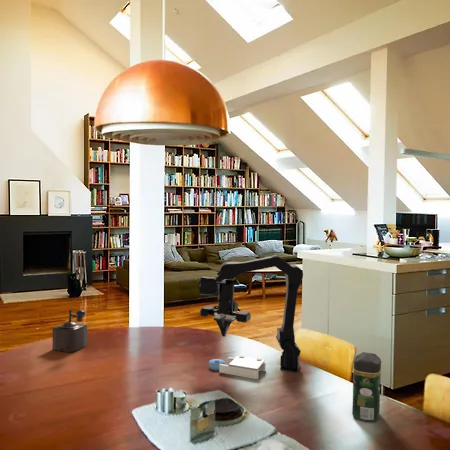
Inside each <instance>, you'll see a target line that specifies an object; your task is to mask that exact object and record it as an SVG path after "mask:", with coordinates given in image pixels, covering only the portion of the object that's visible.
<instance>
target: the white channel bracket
mask: <svg viewBox="0 0 450 450" xmlns="http://www.w3.org/2000/svg"><path fill="white" fill-rule="evenodd" d="M235 358H236V357H230V356H229V357H228V358H227V364H225V365H224V364H220V366H219V370H218V371H219V374H226V375H231V376H232V375H233V376H238V377H245V378H248V379H249V378H250V379H253V380H254V379H255V380H259V372H260V371H261V372H265V371H266V367H267V366H266V362H264V363H263V364H262V365H261V366H260V368H259V369H252V368H246V367H240V366H234V365H229V363H231V362H232V361H233V360H234V359H235Z"/></svg>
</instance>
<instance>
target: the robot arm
mask: <svg viewBox="0 0 450 450" xmlns="http://www.w3.org/2000/svg"><path fill="white" fill-rule="evenodd" d="M274 267H275V268H277V269H278V270H280V271H281V272H283V273H284V278H285V279H284V280H285V286H286V293H285V300H284V310H283V317H282V323H281V324H282V325H281V327H276V336H275V339H276V341H277V344H278V345H279V347H280V348H281V350H282V352H281V355H280V364H279V365H280V367H279V368H280V370H282V371H288V372H293V373H294V372H295V373H297V372H298V371H299V370H300V369H301V368H302V366H301V365H300V364H301V363H300V362H301V361H300V357H301V352H302V351H301V349H300V348H299V346H298V344H297V343H296V339H295V329H294V322H295V316H296V306H297V298H298V290H299V288H300V287H301V284H302V282H303V281H302V280H303V278H304V272H303V269H301V268H300V267H299V266H298V265H296V264H290V263H288V262H286V261H285V260H283V259H282V258H281V257H280V256H279V255H277V254H272V255H271V256H266V257H262V258H256V259H251V260H246V261H224V262H223V263H221V265H220V267H219V270H218V271H217V272H216V274H215V276H214V277H210V276H209V277H208V276H200V282H199V293H198V294H199V295H201V296H203V295H204V296H215V294H217V293H218V298H217V299H216V301H217V309H216V308H215V307H214V306H208V305H206V306H203V307H202V308H201V309H200V311H199V316H200V317H206V318H207V317H209V316H210V315H213V316H214V318H213V321H215V322H216V324H217V327H218V328H219V330H220V334H221V336H222V337H224V338H225V337H226V336H227V333H228V331H229V329H230V326H231V325H232V323H233V322H235V321H237V322H238V323H247V322H249V321H251V317H252V315H251V312H249V311H243V310H239V312H238V309H239V303H238V302H236V301H235V300H236V298H235V295H234V294H235V286H239V285H240V282H239V280H237V278H236V277H238V276H240V275H242V274H244V273H249V272H255V271H259V270H263V269H264V270H265V269H268V268H270V269H271V268H274Z"/></svg>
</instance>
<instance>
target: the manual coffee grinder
mask: <svg viewBox="0 0 450 450" xmlns="http://www.w3.org/2000/svg"><path fill="white" fill-rule="evenodd" d="M85 316H86V311H85V310H84V309H78V310H77V311H76V312H75V314H74V313H73V309H71V308H70V309H68V321H65V322H64V323H62V324H60V325H57V326H53V327H52V347H51V349H52V350H53V351H57V352H65V353H76V352H78V351H79V350H82V349H84V348H86V347H87V345H88V325H87V324H83V323H82V322H83V321H84V317H85ZM72 317H74V318H76V319H75V321H74V320H73V321H72ZM76 321H77V322H76ZM80 322H81V323H80Z"/></svg>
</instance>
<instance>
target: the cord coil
mask: <svg viewBox="0 0 450 450" xmlns="http://www.w3.org/2000/svg"><path fill="white" fill-rule="evenodd" d="M220 364H224V365H226V362H225V360H223V359H220V358H211V359H210V360H209V361H208V369H210V370H212V371H219V366H220Z"/></svg>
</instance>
